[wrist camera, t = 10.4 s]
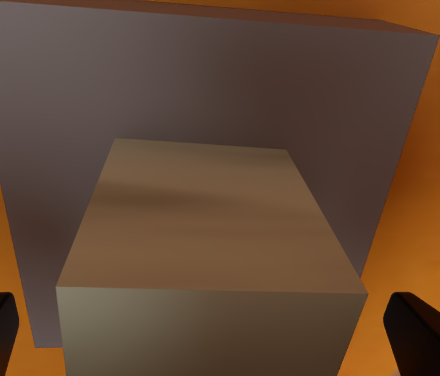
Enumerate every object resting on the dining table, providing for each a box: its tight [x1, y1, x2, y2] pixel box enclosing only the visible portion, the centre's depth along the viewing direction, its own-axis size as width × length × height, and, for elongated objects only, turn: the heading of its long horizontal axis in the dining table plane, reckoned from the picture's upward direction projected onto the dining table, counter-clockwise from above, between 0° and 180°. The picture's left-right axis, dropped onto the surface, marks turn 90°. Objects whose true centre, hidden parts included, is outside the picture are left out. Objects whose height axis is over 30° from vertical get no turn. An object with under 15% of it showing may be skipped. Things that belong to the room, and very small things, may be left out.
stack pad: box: [0, 0, 440, 348], centre depth 14 cm, size 12×12×4 cm
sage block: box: [56, 138, 368, 376], centre depth 10 cm, size 5×5×6 cm
